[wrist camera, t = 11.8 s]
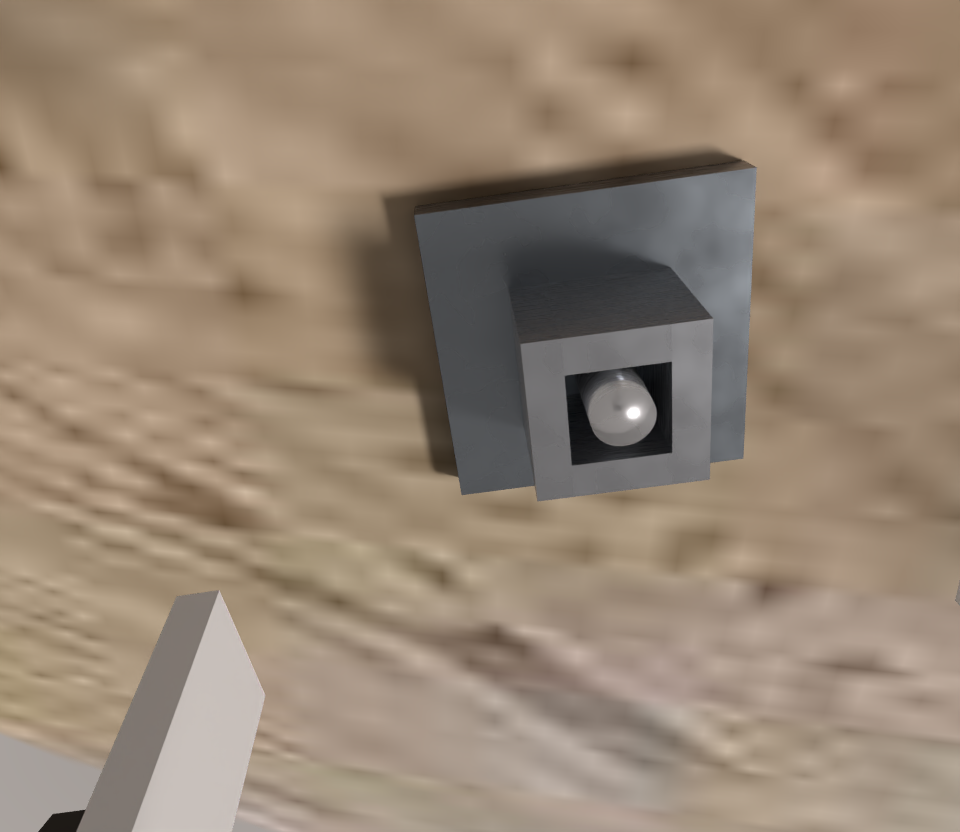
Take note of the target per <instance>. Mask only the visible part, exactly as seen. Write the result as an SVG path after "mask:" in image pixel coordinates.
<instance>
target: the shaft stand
mask: <svg viewBox="0 0 960 832" xmlns="http://www.w3.org/2000/svg"><path fill="white" fill-rule="evenodd" d="M756 169H757V167H755V166H753V165H751V164H749V163H748V162H746V161H737V162H729V163H722V164H715V165H708V166H701V167H694V168H687V169H679V170H672V171H665V172H658V173H651V174H644V175H637V176H629V177H622V178H615V179H608V180H601V181H594V182H587V183H579V184H572V185H565V186H558V187H551V188H544V189H537V190H529V191H522V192H515V193H508V194H501V195H494V196H487V197H480V198H472V199H465V200H458V201H451V202H444V203H437V204H430V205H422V206H415V213H414V218H415V223H416V229H417V235H418V241H419V247H420V253H421V259H422V265H423V270H424V276H425V282H426V288H427V294H428V300H429V306H430V312H431V317H432V323H433V329H434V335H435V341H436V347H437V353H438V359H439V364H440V370H441V376H442V382H443V388H444V394H445V400H446V406H447V411H448V417H449V423H450V429H451V435H452V441H453V447H454V453H455V458H456V464H457V470H458V476H459V482H460V488H461V494H462V495H466V494H473V493H481V492H489V491H497V490H504V489H512V488H520V487H527V486H535V485H534V479H533V474H532V469H531V463H530V458H529V452H528V447H527V442H526V436H525V431H524V423H523V415H522V406H521V397H520V388H519V379H518V370H517V362H516V353H515V344H514V335H513V326H512V317H511V308H510V300H509V291H508V289H509V288H517V287H524V286H532V285H539V284H546V283H554V282H561V281H569V280H576V279H584V278H591V277H599V276H606V275H613V274H621V273H628V272H636V271H643V270H651V269H658V268H666V267H671V268H672V270H673V271H674V272H675V273H676V274H677V275H678V277H679V278H680V279H681V280H682V281H683V283H684V284H685V285H686V286H687V287H688V289H689V290H690V291H691V292H692V293H693V295H694V296H695V297H696V298H697V299H698V301H699V302H700V303H701V304H702V305H703V307H704V308H705V309H706V310H707V311H708V313H709V314H710V315H711V316H712V317H713V358H712V400H711V442H710V463H712V462H720V461H727V460H735V459H743V453H744V431H745V409H746V387H747V365H748V344H749V322H750V300H751V278H752V256H753V234H754V212H755V190H756ZM565 388H566V395H567V394H575V393H580V395H581V398H582V401H583V404H584V407H585V410H586V413H587V416H588V419H589V422H590V425H591V428H592V430H593V432H594V434H595V435H596V436H597V438H598V439H600V440H601V441H602V442H604V443H606V444H609V445H612V446H627V445H631V444H634V443H636V442H638V441H640V440H642V439H643V438H644V437H646V436H647V435H648V434H649V432H650V431H651V430H652V428H653V426H654V424H655V421H656V416H657V412H656V406H655V404H654V402H653V400H652V398H651V396H650V394H649V392H648V390H647V388H646V386H645V384H644V382H643V380H642V379H641V377H640V375H639V373H638V366H635V367H627V368H619V369H612V370H604V371H597V372H589V373H581V374H574V375H566V376H565Z"/></svg>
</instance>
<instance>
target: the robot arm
mask: <svg viewBox="0 0 960 832" xmlns="http://www.w3.org/2000/svg"><path fill="white" fill-rule="evenodd" d="M955 601H956V602H957V603H958V604H959V606H960V581H959V586H958V590H957V595H956V599H955ZM264 699H265V693H264V691H263V689H262V687H261V684H260V682H259V680H258V677H257V675H256V673H255V671H254V668H253V666H252V664H251V661H250V659H249V657H248V655H247V652H246V650H245V648H244V646H243V643H242V641H241V639H240V636H239V634H238V632H237V630H236V627H235V625H234V623H233V620H232V618H231V616H230V614H229V611H228V609H227V607H226V604H225V602H224V600H223V598H222V595H221V593H220V591H219V590H218V591H211V592H204V593H197V594H190V595H183V596H177V597H176V599H175V602H174V604H173V606H172V609H171V611H170V613H169V616H168V618H167V620H166V623H165V625H164V627H163V630H162V632H161V634H160V637H159V639H158V641H157V644H156V646H155V648H154V651H153V653H152V655H151V658H150V660H149V663H148V665H147V667H146V670H145V672H144V674H143V677H142V679H141V681H140V684H139V686H138V688H137V691H136V693H135V695H134V698H133V700H132V702H131V705H130V707H129V709H128V712H127V714H126V716H125V719H124V721H123V723H122V726H121V728H120V731H119V733H118V735H117V738H116V740H115V742H114V745H113V747H112V749H111V752H110V754H109V756H108V759H107V761H106V763H105V766H104V768H103V770H102V773H101V775H100V777H99V780H98V782H97V785H96V787H95V789H94V791H93V794H92V796H91V798H90V801H89V803H88V806H87V808H86V810H80V811H73V812H65V813H59V814H53V815H52V816H51V817H50V818H49V820H48V821H47V822H46V823H45V824H44V826H43V827H42V828H41V829H40V830H39V832H232V829H233V824H234V821H235V817H236V813H237V808H238V804H239V800H240V796H241V792H242V788H243V784H244V780H245V776H246V772H247V768H248V764H249V760H250V756H251V752H252V748H253V744H254V739H255V735H256V731H257V727H258V723H259V719H260V715H261V711H262V707H263V703H264Z"/></svg>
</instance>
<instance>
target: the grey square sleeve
mask: <svg viewBox="0 0 960 832" xmlns="http://www.w3.org/2000/svg"><path fill="white" fill-rule="evenodd" d="M508 291H509V300H510V308H511V317H512V326H513V335H514V344H515V353H516V362H517V370H518V379H519V388H520V397H521V406H522V415H523V423H524V431H525V436H526V442H527V447H528V452H529V458H530V463H531V469H532V474H533V479H534V485H535V490H536V496H537V501H544V500H552V499H560V498H568V497H576V496H583V495H591V494H599V493H607V492H615V491H623V490H631V489H638V488H646V487H654V486H662V485H670V484H678V483H686V482H693V481H701V480H709V479H710V442H711V400H712V358H713V317H712V316H711V315H710V314H709V313H708V311H707V310H706V309H705V308H704V307H703V305H702V304H701V303H700V302H699V301H698V299H697V298H696V297H695V296H694V295H693V293H692V292H691V291H690V290H689V289H688V287H687V286H686V285H685V284H684V283H683V281H682V280H681V279H680V278H679V277H678V275H677V274H676V273H675V272H674V271H673V270H672V268H671V267H666V268H658V269H651V270H643V271H636V272H628V273H621V274H613V275H606V276H599V277H591V278H584V279H576V280H569V281H561V282H554V283H546V284H539V285H532V286H524V287H517V288H509V289H508ZM635 366H638V373H639V375H640V377H641V379H642V380H643V382H644V384H645V386H646V388H647V390H648V392H649V394H650V396H651V398H652V400H653V402H654V404H655V406H656V412H657V416H656V421H655V424H654V426H653V428H652V430H651V431H650V432H649V434H648V435H647V436H646V437H644V438H643V439H642V440H640V441H638V442H636V443H634V444H631V445H627V446H612V445H609V444H606V443H604V442H602V441H601V440H600V439H598V438H597V436H596V435H595V434H594V432H593V430H592V428H591V425H590V422H589V419H588V416H587V413H586V410H585V407H584V404H583V401H582V398H581V395H580V393H575V394H567V395H566V388H565V376H566V375H574V374H581V373H589V372H597V371H604V370H612V369H619V368H627V367H635Z"/></svg>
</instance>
